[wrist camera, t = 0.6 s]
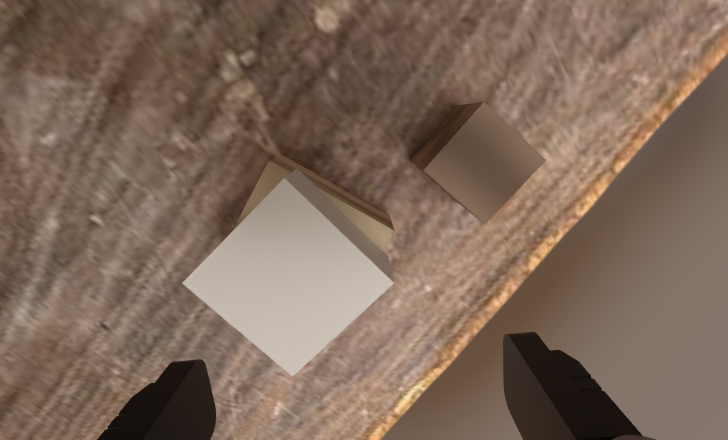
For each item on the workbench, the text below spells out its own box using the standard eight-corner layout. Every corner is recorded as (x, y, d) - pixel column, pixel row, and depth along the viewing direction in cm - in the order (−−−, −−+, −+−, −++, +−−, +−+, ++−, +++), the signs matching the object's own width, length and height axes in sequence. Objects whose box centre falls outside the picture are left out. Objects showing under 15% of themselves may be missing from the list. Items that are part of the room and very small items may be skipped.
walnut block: (456, 105, 31) (483, 101, 25) (506, 152, 32) (545, 160, 26) (409, 160, 32) (423, 170, 26) (459, 203, 33) (485, 224, 26)
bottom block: (282, 154, 32) (269, 160, 28) (389, 214, 34) (394, 230, 29) (228, 256, 34) (207, 279, 30) (331, 310, 36) (326, 340, 31)
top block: (297, 168, 28) (284, 177, 23) (388, 256, 29) (394, 282, 24) (211, 256, 29) (182, 283, 24) (302, 336, 31) (292, 376, 26)
